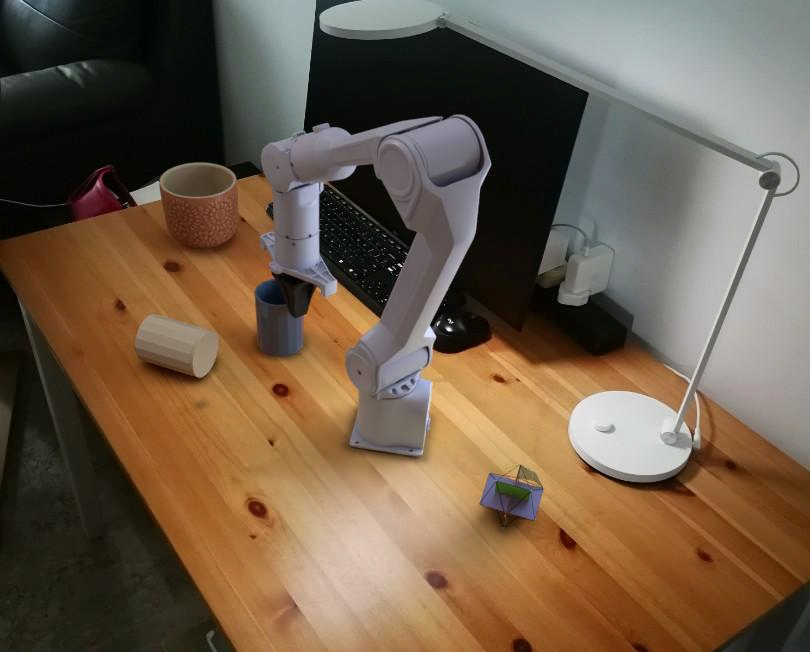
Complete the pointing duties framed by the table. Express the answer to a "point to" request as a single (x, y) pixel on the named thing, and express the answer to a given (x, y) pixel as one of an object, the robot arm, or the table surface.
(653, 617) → the table surface
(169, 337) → the cream cup
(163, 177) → the planter
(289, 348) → the blue cup
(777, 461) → the table surface
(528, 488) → the geometric puzzle
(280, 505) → the table surface
